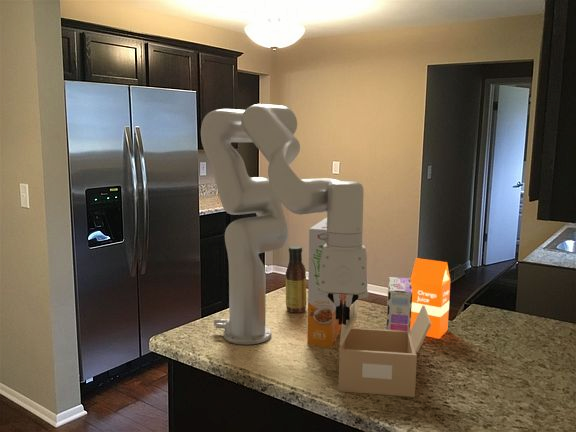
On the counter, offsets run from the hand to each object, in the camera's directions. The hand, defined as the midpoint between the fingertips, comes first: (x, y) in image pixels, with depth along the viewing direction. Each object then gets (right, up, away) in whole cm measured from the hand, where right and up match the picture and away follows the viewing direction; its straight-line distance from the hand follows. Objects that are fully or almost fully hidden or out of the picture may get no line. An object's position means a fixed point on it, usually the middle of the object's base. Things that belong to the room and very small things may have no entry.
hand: (342, 322), depth 114 cm
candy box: (+16, -10, +20) cm, 28 cm away
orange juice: (+27, -9, +30) cm, 41 cm away
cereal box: (-1, -9, +30) cm, 31 cm away
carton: (+7, -13, +1) cm, 15 cm away
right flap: (+16, -1, -2) cm, 16 cm away
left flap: (+2, 0, 0) cm, 2 cm away
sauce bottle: (-9, -6, +46) cm, 48 cm away
